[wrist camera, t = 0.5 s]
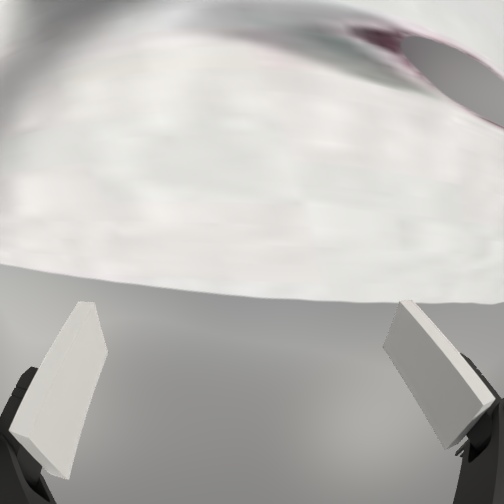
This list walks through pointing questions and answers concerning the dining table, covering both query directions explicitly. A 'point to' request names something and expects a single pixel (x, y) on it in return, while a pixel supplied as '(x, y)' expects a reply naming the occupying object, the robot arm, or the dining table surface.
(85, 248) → the dining table surface
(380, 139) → the dining table surface
